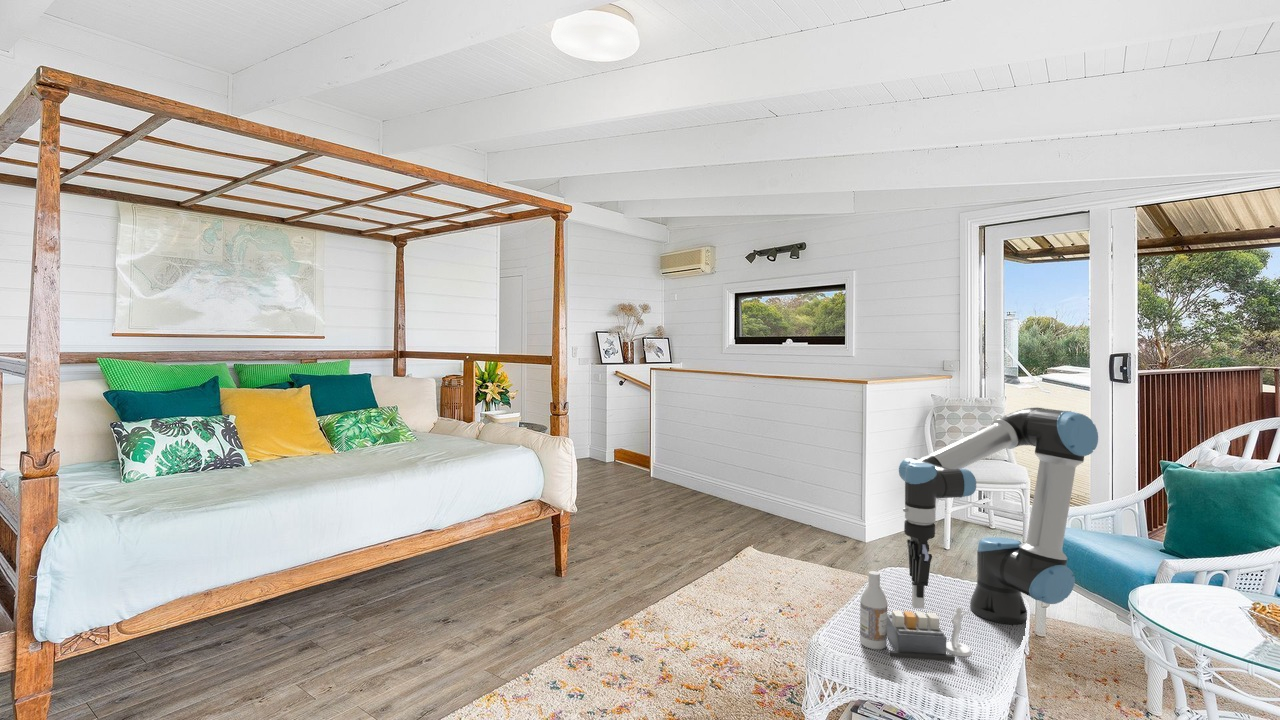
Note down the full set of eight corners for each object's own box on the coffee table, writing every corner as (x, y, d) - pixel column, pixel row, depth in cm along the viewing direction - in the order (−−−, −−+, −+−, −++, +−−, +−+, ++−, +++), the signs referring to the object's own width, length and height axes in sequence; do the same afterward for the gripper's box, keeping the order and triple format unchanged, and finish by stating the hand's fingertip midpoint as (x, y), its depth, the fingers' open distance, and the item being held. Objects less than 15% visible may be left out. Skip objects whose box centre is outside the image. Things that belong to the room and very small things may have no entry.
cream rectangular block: (934, 623, 168) (934, 612, 168) (939, 629, 164) (939, 618, 164) (926, 623, 168) (926, 612, 168) (930, 629, 165) (930, 618, 164)
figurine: (964, 659, 161) (965, 614, 160) (937, 648, 166) (938, 605, 166) (976, 651, 165) (978, 607, 164) (950, 640, 171) (951, 598, 170)
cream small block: (900, 621, 169) (900, 610, 169) (904, 627, 165) (904, 616, 165) (892, 620, 169) (892, 610, 169) (895, 626, 166) (895, 616, 166)
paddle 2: (911, 622, 169) (911, 611, 168) (915, 628, 165) (915, 617, 165) (903, 621, 169) (903, 611, 169) (907, 627, 165) (907, 616, 165)
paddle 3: (923, 622, 168) (923, 612, 168) (927, 628, 165) (927, 617, 165) (914, 622, 168) (914, 611, 168) (918, 628, 165) (919, 617, 165)
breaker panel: (930, 637, 172) (930, 614, 172) (945, 659, 160) (946, 635, 160) (886, 634, 174) (886, 611, 173) (898, 656, 162) (898, 632, 162)
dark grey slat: (953, 659, 161) (953, 654, 161) (954, 661, 159) (954, 656, 159) (889, 654, 163) (889, 650, 163) (891, 657, 161) (891, 652, 161)
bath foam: (876, 652, 164) (877, 579, 163) (854, 642, 169) (855, 571, 169) (891, 645, 167) (893, 574, 167) (870, 635, 173) (871, 566, 172)
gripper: (898, 513, 171) (896, 596, 172) (912, 527, 158) (910, 617, 159) (926, 514, 170) (924, 597, 171) (943, 529, 157) (941, 619, 158)
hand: (917, 607), depth 165 cm, fingers closed
